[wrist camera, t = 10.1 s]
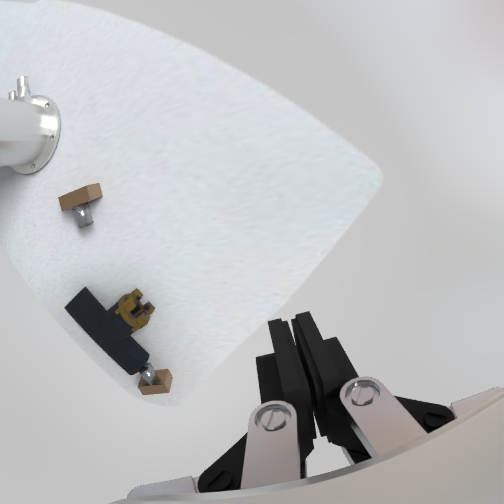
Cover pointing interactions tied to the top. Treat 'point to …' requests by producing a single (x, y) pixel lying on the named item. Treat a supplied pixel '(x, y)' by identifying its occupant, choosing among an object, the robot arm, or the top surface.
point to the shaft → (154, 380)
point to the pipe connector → (114, 326)
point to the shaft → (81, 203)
